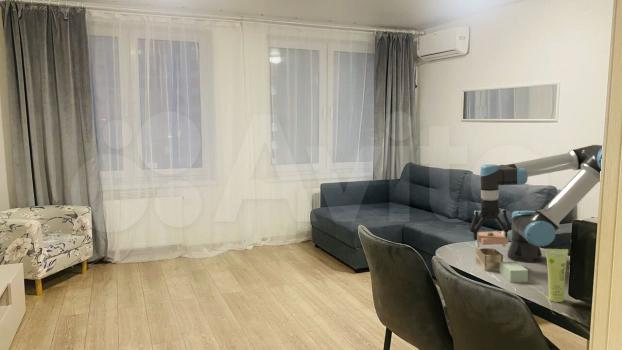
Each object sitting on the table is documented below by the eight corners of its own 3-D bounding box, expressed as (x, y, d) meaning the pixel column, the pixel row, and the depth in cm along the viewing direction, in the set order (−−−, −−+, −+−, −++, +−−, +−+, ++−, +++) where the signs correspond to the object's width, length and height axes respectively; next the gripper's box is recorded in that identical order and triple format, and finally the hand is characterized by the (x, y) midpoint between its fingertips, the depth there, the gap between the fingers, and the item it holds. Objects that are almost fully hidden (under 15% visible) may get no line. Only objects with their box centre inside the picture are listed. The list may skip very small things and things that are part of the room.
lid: (497, 236, 214) (497, 229, 213) (508, 243, 201) (508, 236, 200) (473, 237, 214) (473, 230, 214) (482, 244, 201) (482, 237, 201)
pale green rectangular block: (515, 272, 200) (516, 261, 199) (527, 282, 188) (527, 270, 187) (499, 272, 200) (499, 261, 199) (510, 282, 188) (510, 270, 187)
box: (493, 262, 215) (493, 247, 214) (502, 270, 203) (503, 255, 202) (476, 262, 215) (476, 248, 214) (484, 270, 203) (484, 255, 202)
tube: (556, 304, 165) (557, 251, 163) (544, 299, 170) (545, 248, 167) (567, 301, 167) (568, 249, 165) (554, 296, 172) (556, 246, 170)
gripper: (512, 196, 209) (513, 242, 211) (461, 198, 210) (462, 245, 212) (519, 198, 201) (519, 247, 204) (465, 201, 202) (466, 249, 205)
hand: (490, 246), depth 208 cm, fingers closed on lid, 11 cm apart
